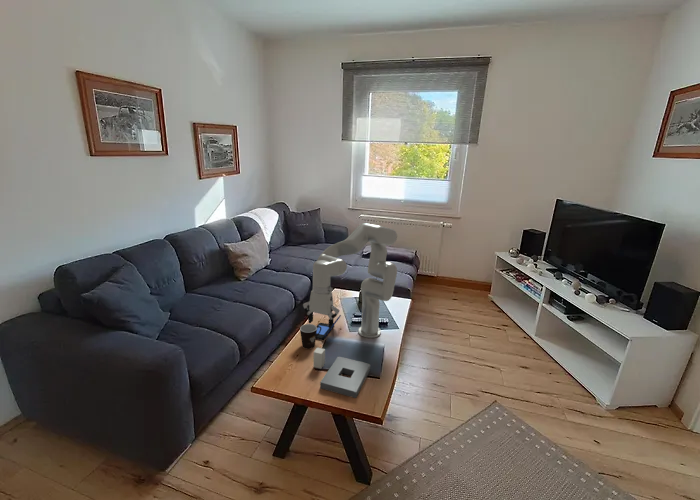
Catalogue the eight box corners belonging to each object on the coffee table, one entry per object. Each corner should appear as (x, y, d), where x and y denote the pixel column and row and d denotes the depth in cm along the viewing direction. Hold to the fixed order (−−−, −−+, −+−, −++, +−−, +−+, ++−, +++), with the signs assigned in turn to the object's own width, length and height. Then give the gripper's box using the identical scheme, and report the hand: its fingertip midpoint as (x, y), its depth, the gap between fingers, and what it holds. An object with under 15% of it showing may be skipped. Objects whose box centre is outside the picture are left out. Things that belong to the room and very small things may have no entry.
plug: (317, 362, 158) (317, 347, 156) (324, 364, 157) (325, 349, 154) (313, 367, 154) (313, 351, 152) (321, 369, 153) (321, 353, 151)
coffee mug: (301, 351, 166) (301, 333, 163) (299, 342, 174) (298, 325, 171) (324, 348, 169) (324, 330, 167) (320, 339, 177) (321, 322, 175)
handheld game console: (319, 324, 193) (319, 309, 191) (341, 328, 189) (341, 314, 187) (307, 337, 179) (307, 322, 176) (330, 342, 175) (331, 327, 172)
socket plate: (338, 361, 159) (338, 356, 158) (370, 369, 154) (370, 364, 153) (320, 388, 141) (320, 382, 140) (355, 398, 135) (356, 392, 135)
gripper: (343, 289, 146) (341, 324, 150) (307, 282, 151) (307, 317, 156) (336, 295, 139) (335, 332, 143) (299, 288, 144) (299, 324, 149)
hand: (320, 324), depth 150 cm, fingers open, 9 cm apart
